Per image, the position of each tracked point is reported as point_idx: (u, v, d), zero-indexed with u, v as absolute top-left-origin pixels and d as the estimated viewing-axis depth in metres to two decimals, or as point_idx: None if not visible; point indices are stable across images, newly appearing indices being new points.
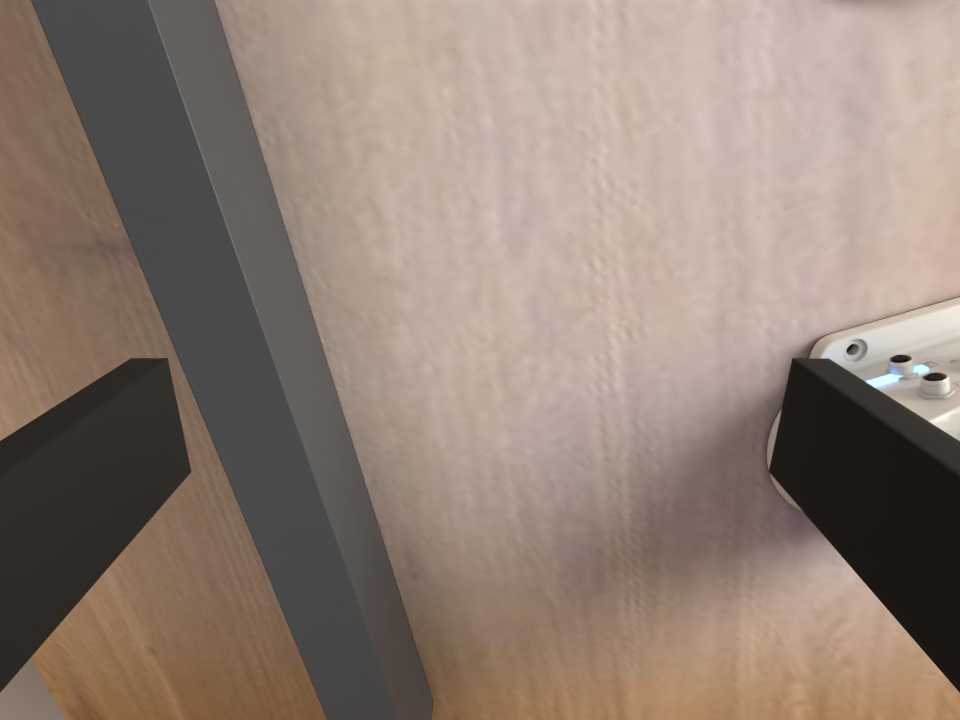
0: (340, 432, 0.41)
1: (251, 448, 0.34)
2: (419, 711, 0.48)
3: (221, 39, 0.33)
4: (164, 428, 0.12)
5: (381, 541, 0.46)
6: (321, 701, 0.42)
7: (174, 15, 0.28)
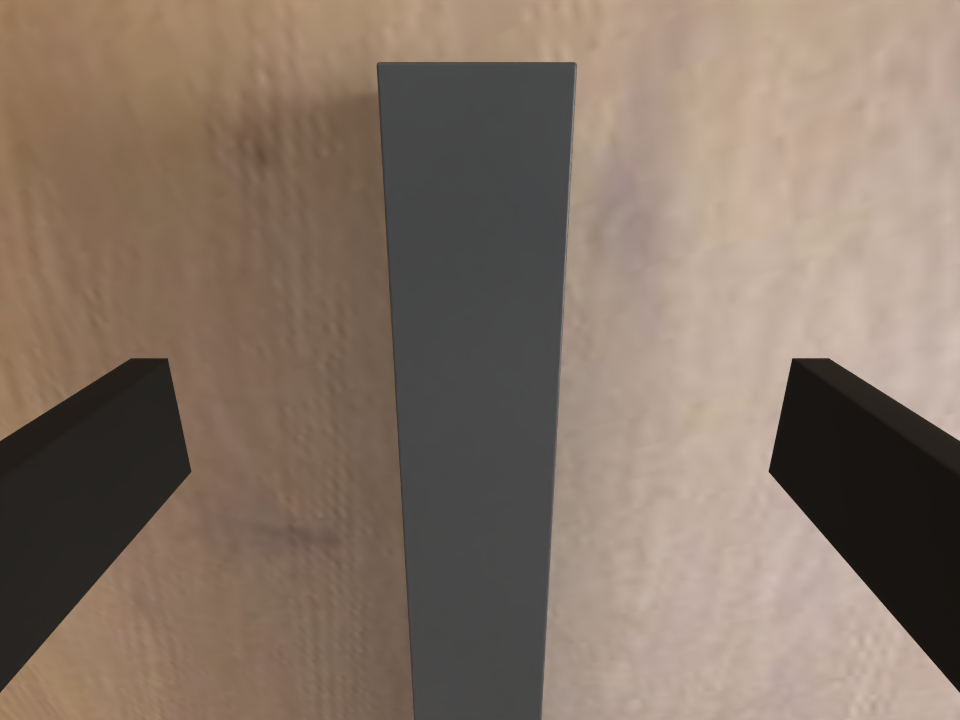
0: None
1: None
2: None
3: None
4: (164, 428, 0.12)
5: None
6: None
7: None
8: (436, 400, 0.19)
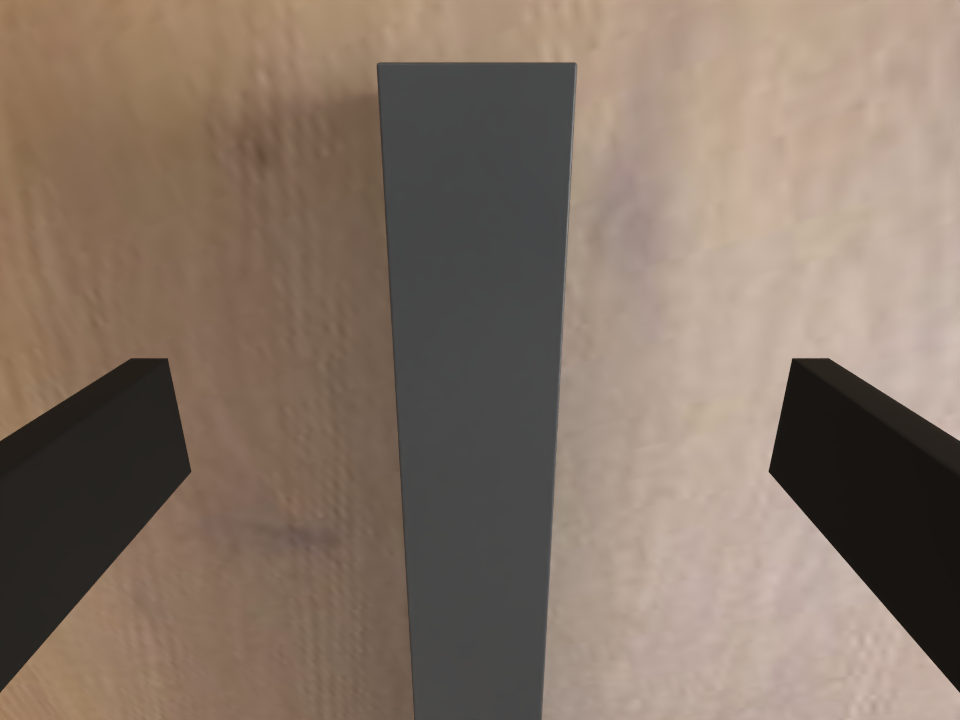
0: None
1: None
2: None
3: None
4: (164, 428, 0.12)
5: None
6: None
7: None
8: (435, 401, 0.19)
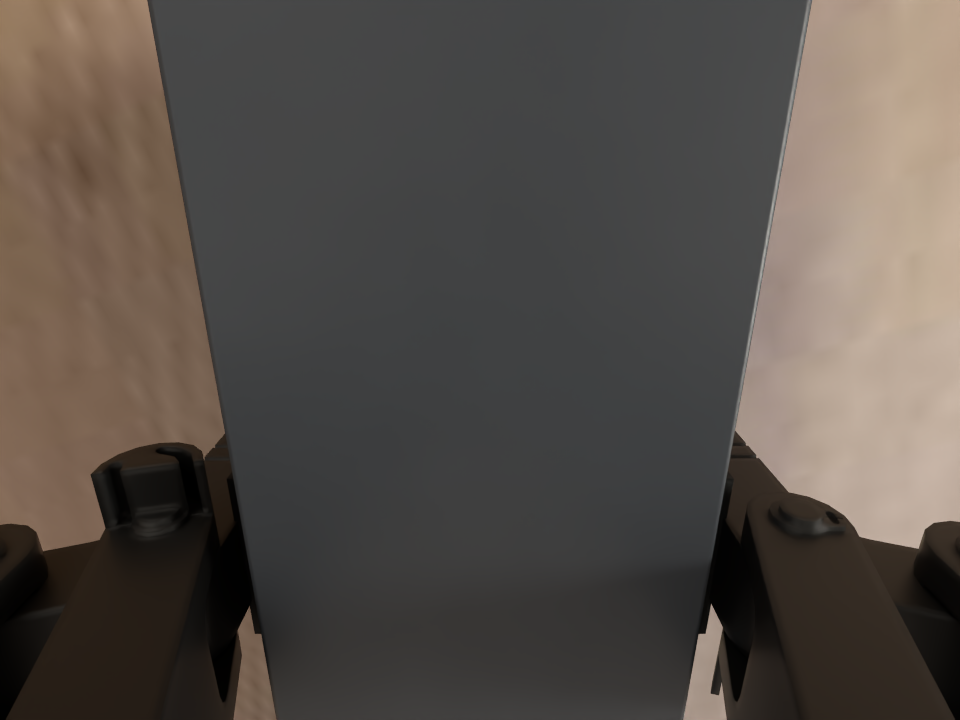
0: None
1: None
2: None
3: None
4: None
5: None
6: None
7: None
8: None
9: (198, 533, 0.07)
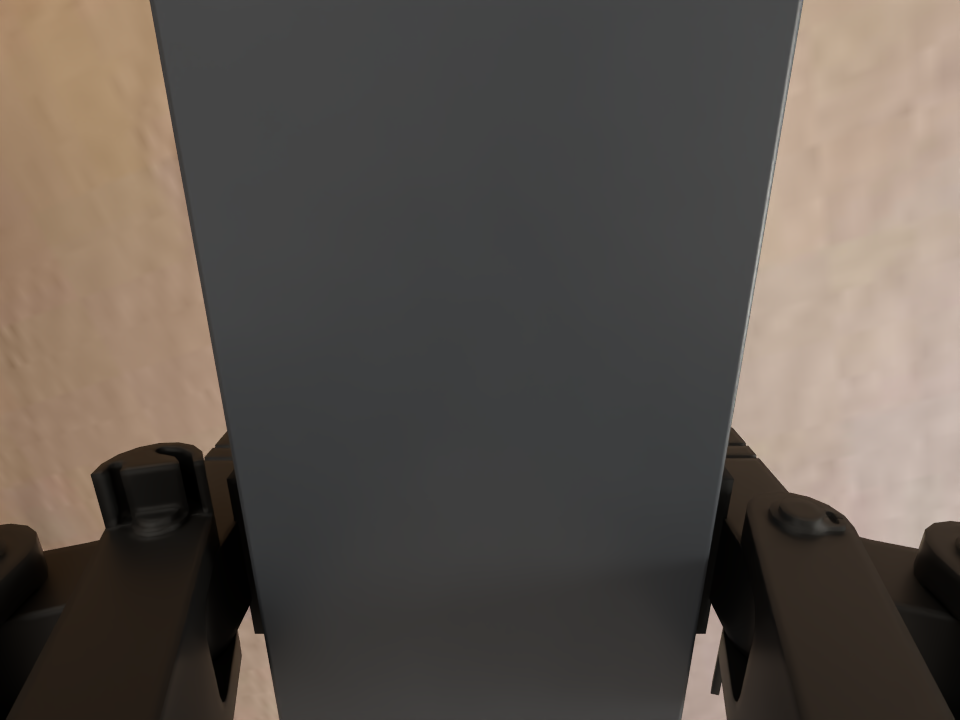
0: None
1: None
2: None
3: None
4: None
5: None
6: None
7: None
8: None
9: (198, 533, 0.07)
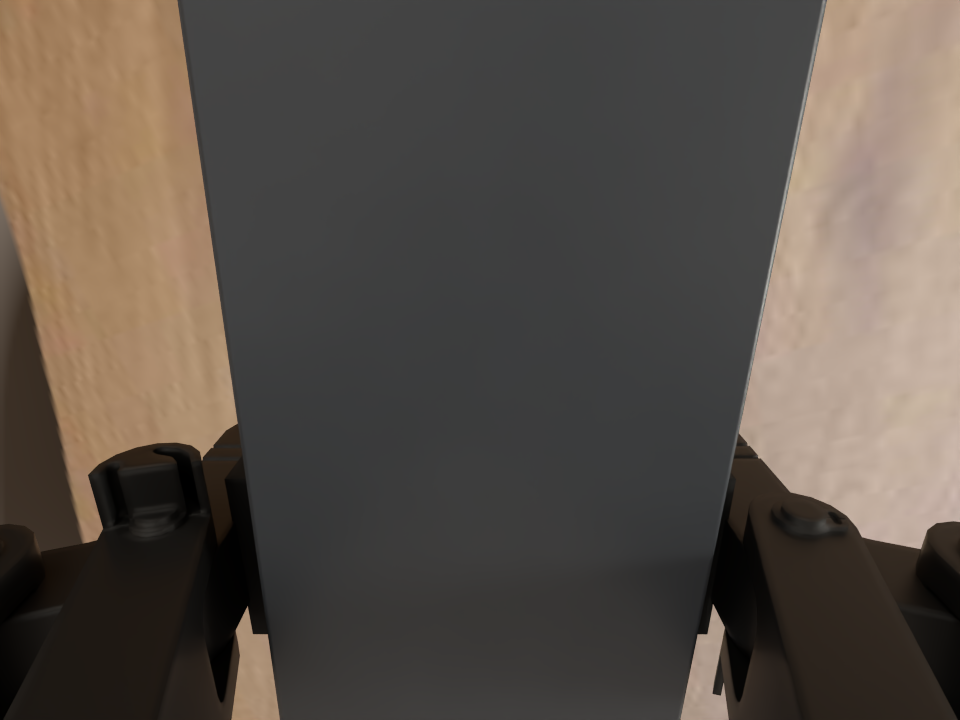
0: None
1: None
2: None
3: None
4: None
5: None
6: None
7: None
8: None
9: (196, 533, 0.07)
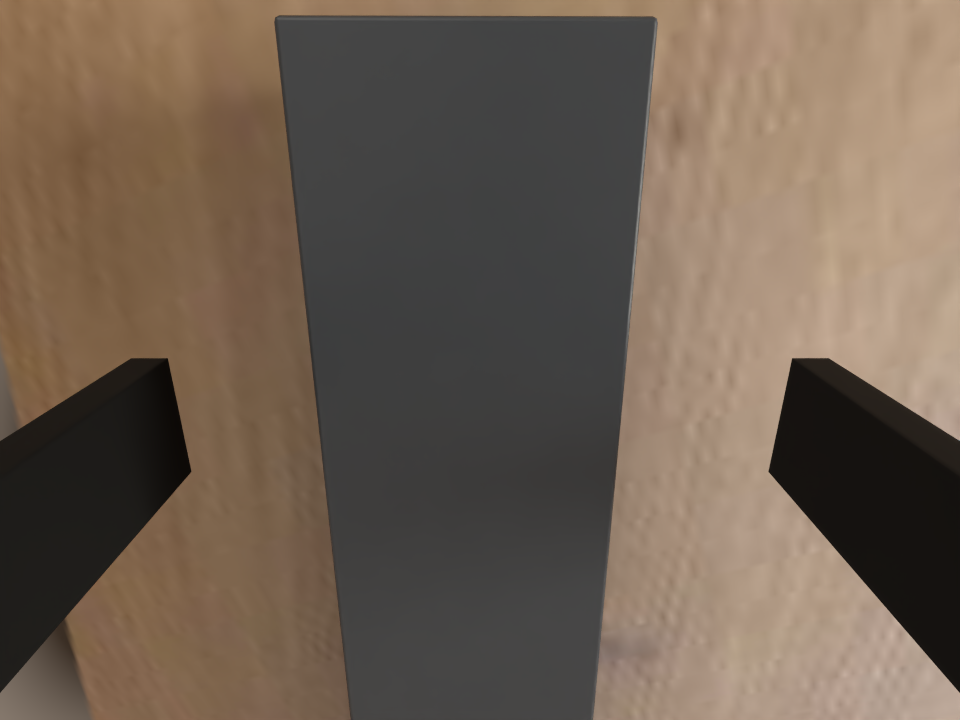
0: None
1: None
2: None
3: None
4: (164, 428, 0.12)
5: None
6: None
7: None
8: (402, 590, 0.11)
9: None
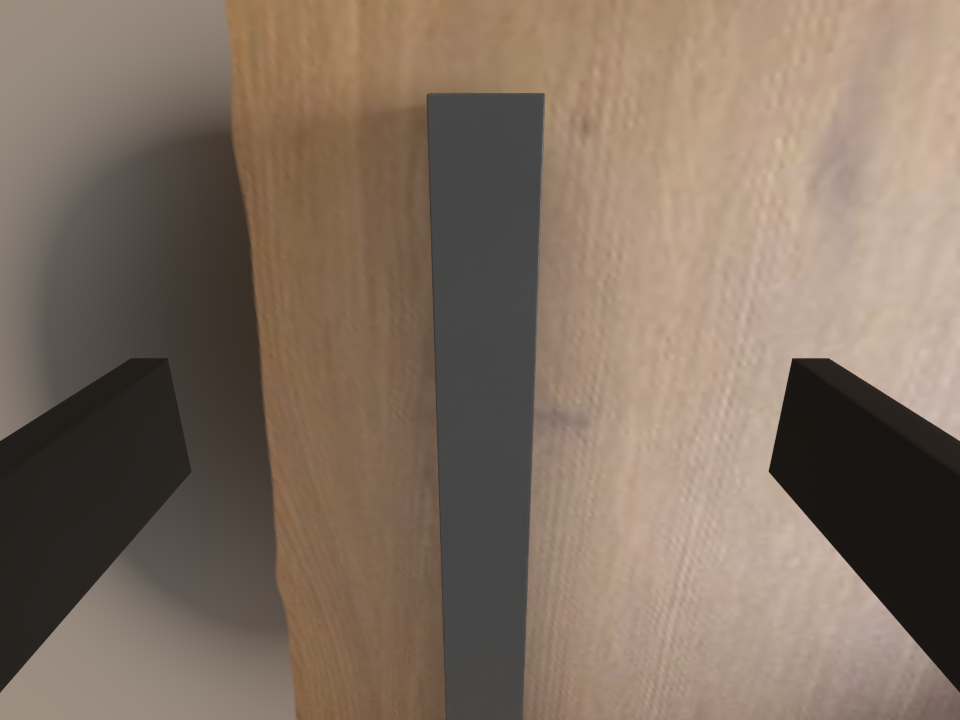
0: None
1: (477, 663, 0.38)
2: None
3: None
4: (164, 428, 0.12)
5: None
6: None
7: None
8: (458, 306, 0.29)
9: None
